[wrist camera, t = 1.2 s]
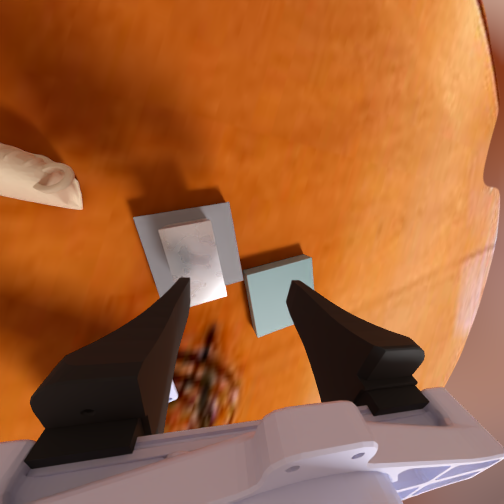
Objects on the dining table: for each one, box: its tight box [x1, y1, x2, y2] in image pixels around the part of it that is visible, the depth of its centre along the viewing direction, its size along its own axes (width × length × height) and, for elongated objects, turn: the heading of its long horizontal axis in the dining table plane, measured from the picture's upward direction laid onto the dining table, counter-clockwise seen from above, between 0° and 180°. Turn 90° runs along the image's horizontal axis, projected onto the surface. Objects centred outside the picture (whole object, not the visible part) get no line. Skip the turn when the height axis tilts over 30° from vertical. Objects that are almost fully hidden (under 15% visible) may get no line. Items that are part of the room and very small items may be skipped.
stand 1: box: [133, 202, 243, 298], centre depth 21 cm, size 10×10×2 cm
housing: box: [158, 218, 227, 307], centre depth 17 cm, size 4×7×5 cm, turn 9°
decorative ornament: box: [0, 143, 83, 210], centre depth 14 cm, size 4×8×5 cm, turn 74°
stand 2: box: [243, 254, 314, 337], centre depth 26 cm, size 10×10×2 cm
